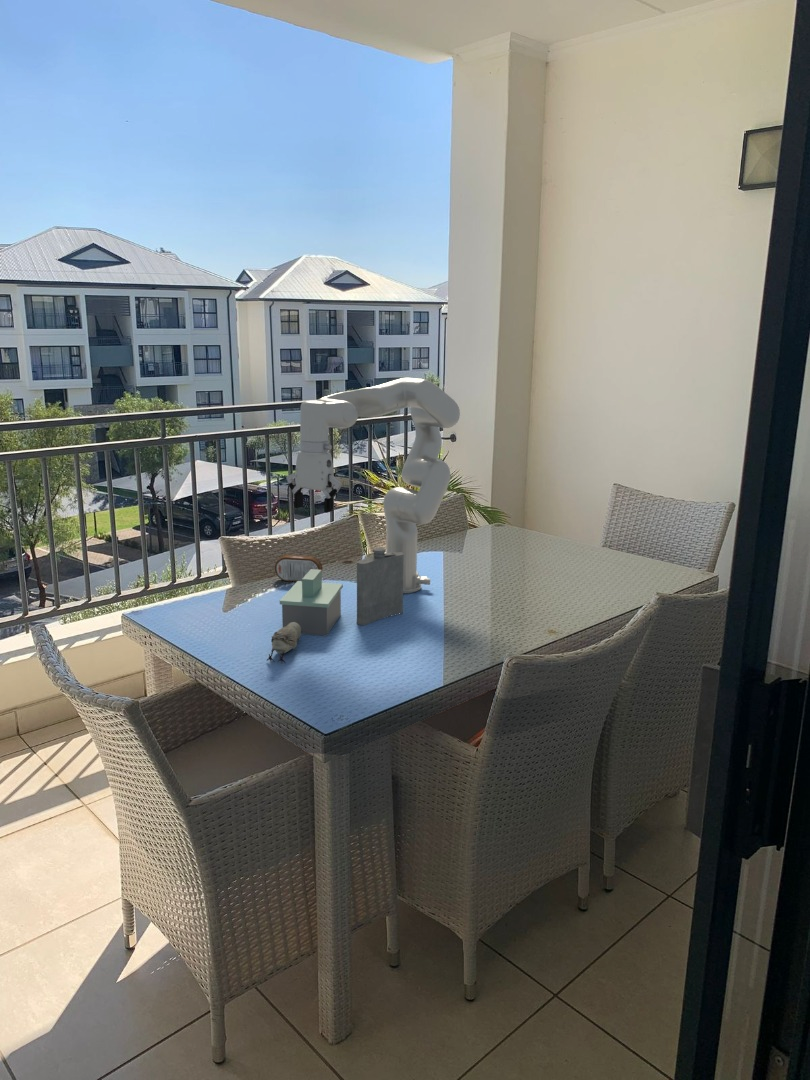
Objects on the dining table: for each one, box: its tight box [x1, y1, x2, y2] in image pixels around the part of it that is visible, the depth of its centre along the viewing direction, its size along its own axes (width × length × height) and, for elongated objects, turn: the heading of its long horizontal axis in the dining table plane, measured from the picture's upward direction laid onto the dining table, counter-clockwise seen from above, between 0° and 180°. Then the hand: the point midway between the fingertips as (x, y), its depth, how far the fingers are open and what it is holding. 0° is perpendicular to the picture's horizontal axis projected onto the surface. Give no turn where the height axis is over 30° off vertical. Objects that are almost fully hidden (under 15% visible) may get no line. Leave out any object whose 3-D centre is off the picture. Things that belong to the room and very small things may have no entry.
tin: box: [274, 554, 323, 583], centre depth 249 cm, size 15×3×8 cm, turn 84°
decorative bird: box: [266, 622, 302, 664], centre depth 195 cm, size 5×16×7 cm, turn 168°
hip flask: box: [356, 546, 404, 626], centre depth 218 cm, size 16×4×20 cm, turn 133°
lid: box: [279, 569, 344, 608], centre depth 212 cm, size 13×17×7 cm
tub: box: [281, 589, 342, 637], centre depth 214 cm, size 12×16×8 cm
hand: (313, 509), depth 216 cm, fingers open, 9 cm apart
